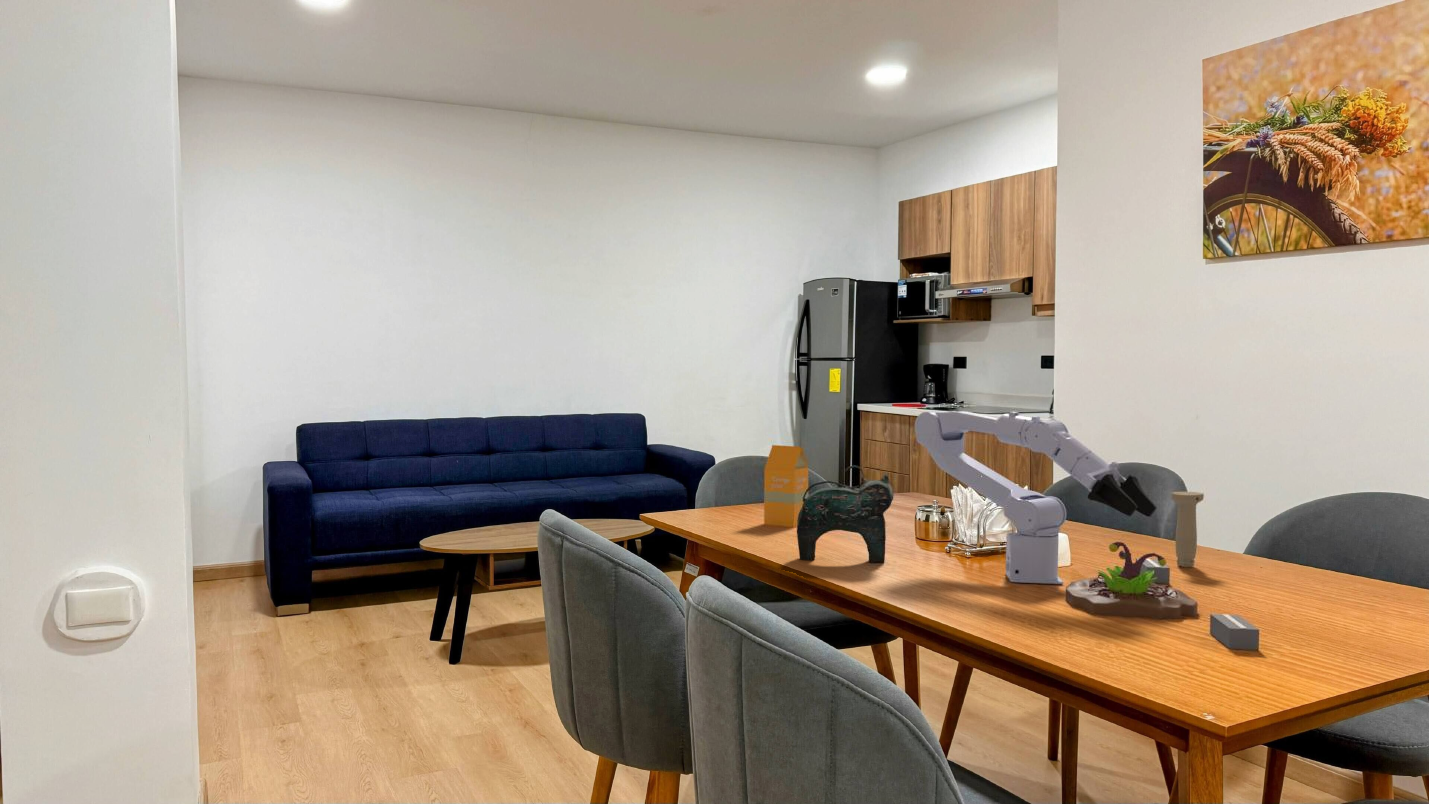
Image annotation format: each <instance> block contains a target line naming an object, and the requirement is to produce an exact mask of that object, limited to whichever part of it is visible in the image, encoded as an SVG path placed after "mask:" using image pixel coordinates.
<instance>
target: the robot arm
mask: <svg viewBox="0 0 1429 804" xmlns="http://www.w3.org/2000/svg"><path fill="white" fill-rule="evenodd" d="M969 431H971V432H978V433H985V434H990V435H995V437H996V439H997V441H999V442H1000V443H1004V444H1009V445H1014V446H1019V447H1022V448H1023V447H1025V448H1029V450H1030V451H1032V452H1033V453H1042V454H1044V455H1045V456H1047V457H1048V458H1049V459H1050V460H1051V461H1053V462H1054V463H1055V464H1056V465H1058V466H1059V467H1060V468H1062V469H1063V470H1064V471H1065V472H1066V473H1067V474H1068V475H1070V476H1071V477H1072V478H1073V479H1075V480H1077V481H1078V482H1079V484H1081V485H1083V486H1084V487H1085V488H1086V489H1087V490H1088V491H1089V493H1088V495H1087V499H1088V500H1090V501H1095V502H1097V503H1101V504H1104V505H1105V506H1109V507H1110V508H1112V509H1114V510H1116V511H1118V512H1120V513H1121V514H1123V515H1126V516H1128V517H1132V515H1133V514H1134V513H1135V512H1138V513H1139V514H1142V515H1144V516H1146V517H1148V518H1149V517H1151V516H1152V515H1153V514H1154V513H1155V511H1156V509H1157V506H1156V504H1155V503H1154V502H1153V501H1152V500H1151V499H1150V498H1149V496H1148V495H1147V494H1146V492H1144V490H1143V488H1142V487H1141V484H1140V482H1139V479H1138V478H1137V477H1136V476H1135V475H1131V474H1130V475H1128V477H1127V478H1125V476H1123V475H1122V474H1121V473H1120V472H1119V469H1118V468H1119V467H1120V465H1121V464H1120V463H1119V462H1117V461H1112V462H1111V463H1110V464H1109V463H1108V462H1107V461H1105V460H1104V459H1103V458H1101V457H1100V456H1098V455H1097V454H1096V453H1095V452H1093V451H1092V450H1091V449H1089V448H1088V447H1087V446H1086V445H1085V444H1083V443H1082V442H1080V441H1079V440H1078V439H1077V438H1075V437H1073V436H1072V435H1071V434H1069V431H1068V427H1066V425H1065V424H1064V423H1063V422H1061V421H1059V420H1056V419H1055V418H1052V419H1047V420H1041V417H1040V416H1036V415H1033V416H1032V417H1027V416H1022V415H1020V413H1019V412H1018V411H1009V413H1004V414H1002V415H1001V416H999V417H993V416H989V415H984V414H980V413H975V412H970V411H966V410H965V411H962V410H960V411H958V410H957V411H956V410H947V411H937V412H935V411H933V412H930V411H923V412H921V413H920V414H918V416H917V417H916V419H915V421H914V433H915V438H916V442H917V443H918V444H920V445H921V446H922V447H924V448H925V449H926V450H927V453H928V454H929V455H930V457H931V458H932V460H933V461H934V462H935V464H936V465H937V467H938V468H939V469H940V470H941V471H943V472H945V473H947V474H948V475H950V476H951V477H953V478H955V479H956V480H957V481H960V482H961V483H963V484H964V485H966V486H968V488H971V489H972V490H973V491H975V492H976V493H978V494H980V495H982V496H983V497H985V498H987V499H988V500H990V501H991V502H993V503H994V504H996V505H998V506H999V507H1001V508H1002V509H1003V515H1004V517H1005V518H1007V519H1008V520H1009V521H1011V523H1012V524H1013V526H1014V527H1015V529H1016V531H1017V532H1008V533H1007V535H1006V541H1005V543H1006V544H1005V545H1006V546H1005V547H1006V550H1005V552H1006V553H1005V573H1004V574H1005V575H1006V577H1007V578H1008V580H1009V581H1010V582H1011V583H1025V584H1027V583H1029V584H1049V585H1051V584H1052V585H1063V584H1064V581H1063V580H1062V579H1061V578H1060V576H1059V570H1058V569H1059V538H1060V537H1059V533H1061V532H1060V529H1061V527H1062V526H1063V525H1064V524H1065V523H1066V519H1067V509H1066V507H1065V504H1064V503H1063V502H1062V500H1060V499H1059V498H1058V497H1056V496H1051V495H1050V496H1049V495H1048V496H1047V495H1044V494H1042V493H1040V492H1038V491H1034V490H1030V489H1026V488H1023V487H1021V486H1020V485H1018V484H1016V483H1014V482H1012V481H1011V480H1010V479H1008V478H1006V477H1005V476H1004V475H1001V474H1000V473H998V472H996V471H995V470H993V469H991V468H989V467H987V466H986V465H984V463H981V462H979V461H977V460H976V459H975V458H973V457H971V456H969V455H968V454H966V453H964V452H965V442H966V441H965V439H966V433H968V432H969ZM981 476H982V477H981Z"/></svg>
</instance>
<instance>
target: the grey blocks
mask: <svg viewBox="0 0 1429 804" xmlns="http://www.w3.org/2000/svg"><path fill="white" fill-rule="evenodd" d="M1138 560H1139V558H1135V562H1137V561H1138ZM1151 570H1154V574H1153V575H1152V577H1151V579H1153V578H1157V579H1156V580H1154V581H1153V582H1152V583H1155V584H1166V585H1167V584H1168V585H1169V584H1170V580H1171V579H1170V576H1171V573H1170V572H1171V567H1169V566H1168V565H1166V564H1165V565H1164V566H1161V565H1160V564H1159V563H1158V558H1147V559H1146V560H1145V562H1143V564H1142V566H1141V571H1140V574H1141V573H1143V572H1145V571H1151ZM1209 617H1210V618H1209V619H1210V620H1209V634H1210V635H1212V636H1213V637H1214V638H1215V639H1216V640H1218V641H1219V642H1220V643H1221V644H1222V645H1223V646H1225V647H1226V648H1228V649H1229V650H1249V651H1250V650H1252V651H1259V650H1260V644H1259V643H1260V628H1258V627H1256V626H1254V625H1253V624H1252V623H1250V622H1249V621H1247V620H1246V619H1245V618H1243V617H1242V616H1240V615H1238V614H1228V613H1227V614H1224V613H1223V614H1222V613H1221V614H1220V613H1218V614H1217V613H1210V614H1209Z"/></svg>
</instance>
